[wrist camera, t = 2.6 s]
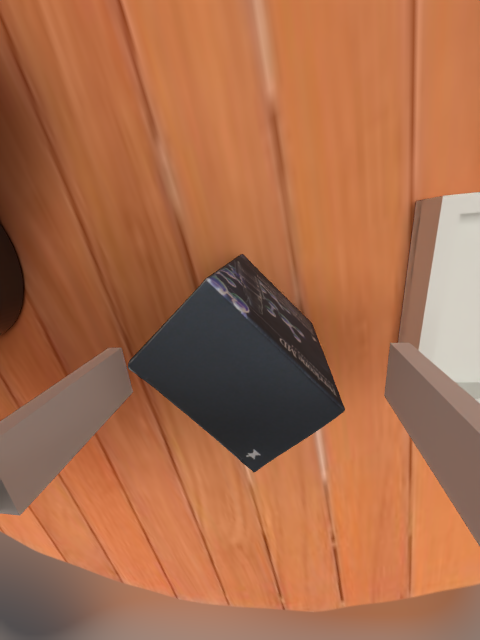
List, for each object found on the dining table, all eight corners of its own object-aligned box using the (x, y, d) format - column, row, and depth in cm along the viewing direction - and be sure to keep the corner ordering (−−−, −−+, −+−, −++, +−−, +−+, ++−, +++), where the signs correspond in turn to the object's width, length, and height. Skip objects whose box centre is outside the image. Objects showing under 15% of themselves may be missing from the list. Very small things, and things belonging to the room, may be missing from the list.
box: (313, 322, 20) (351, 414, 10) (262, 364, 22) (251, 477, 12) (242, 250, 19) (204, 275, 9) (194, 301, 21) (120, 369, 11)
